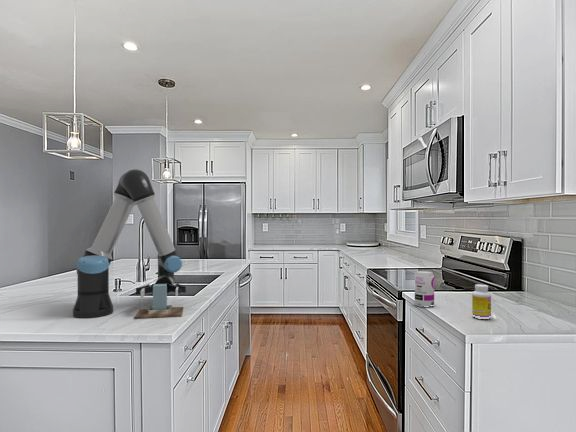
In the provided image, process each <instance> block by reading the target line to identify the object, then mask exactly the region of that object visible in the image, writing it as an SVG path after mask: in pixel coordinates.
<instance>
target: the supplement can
mask: <svg viewBox="0 0 576 432" xmlns="http://www.w3.org/2000/svg"><path fill="white" fill-rule="evenodd" d="M414 304H415V305H416V307H419V308H424V307H423V306H430V305H434V306H435V274H434V272H433V271H429V270H418V271H415V274H414Z"/></svg>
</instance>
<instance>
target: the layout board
mask: <svg viewBox="0 0 576 432" xmlns="http://www.w3.org/2000/svg"><path fill="white" fill-rule="evenodd" d="M183 312H184V306H176V307H173V306H172V305H168V304H167V310H153V305H150V306H149V308H139V309H138V311H137V312H136V314H135V315H134V316H133V317H134V319H133V320H143V319H164V318H179V317H183Z"/></svg>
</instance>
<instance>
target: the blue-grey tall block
mask: <svg viewBox="0 0 576 432" xmlns="http://www.w3.org/2000/svg"><path fill="white" fill-rule="evenodd" d="M153 285H154V286H153V292H152V306H153V310H167V305H168V293H167V284H153Z"/></svg>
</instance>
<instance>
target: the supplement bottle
mask: <svg viewBox="0 0 576 432" xmlns="http://www.w3.org/2000/svg"><path fill="white" fill-rule="evenodd" d="M471 293H472V294H471V295H472V296H471V297H472V298H471V299H472V301H471V303H472V304H471V306H472V309H471V311H472V312H471V313H472V314H473V315H475V316H480V317H489V316H491V317H492V295H491V293H490V292H489V285H487V284H479V283H478V284H477V283H476V284H474V291H473V292H471ZM472 314H471V315H472Z"/></svg>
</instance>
